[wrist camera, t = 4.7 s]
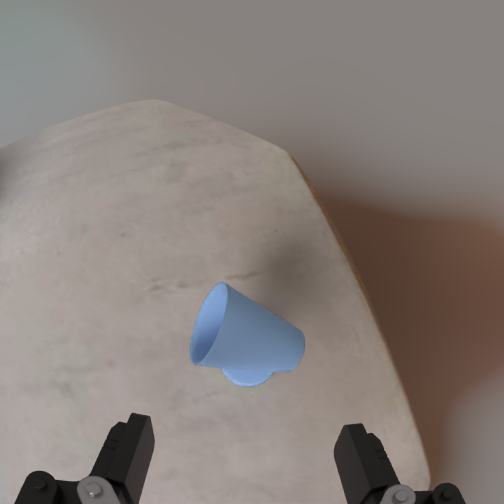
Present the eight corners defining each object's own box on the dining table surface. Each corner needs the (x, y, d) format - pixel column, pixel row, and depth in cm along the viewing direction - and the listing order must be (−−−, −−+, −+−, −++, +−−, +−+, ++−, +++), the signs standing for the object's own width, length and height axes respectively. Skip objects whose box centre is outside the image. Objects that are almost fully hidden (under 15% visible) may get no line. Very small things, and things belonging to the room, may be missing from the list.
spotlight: (193, 378, 21) (279, 395, 21) (170, 351, 13) (315, 379, 13) (207, 321, 24) (288, 337, 24) (196, 261, 16) (324, 287, 15)
